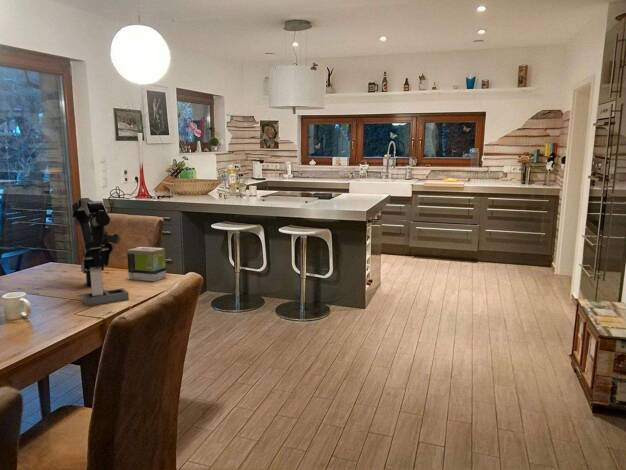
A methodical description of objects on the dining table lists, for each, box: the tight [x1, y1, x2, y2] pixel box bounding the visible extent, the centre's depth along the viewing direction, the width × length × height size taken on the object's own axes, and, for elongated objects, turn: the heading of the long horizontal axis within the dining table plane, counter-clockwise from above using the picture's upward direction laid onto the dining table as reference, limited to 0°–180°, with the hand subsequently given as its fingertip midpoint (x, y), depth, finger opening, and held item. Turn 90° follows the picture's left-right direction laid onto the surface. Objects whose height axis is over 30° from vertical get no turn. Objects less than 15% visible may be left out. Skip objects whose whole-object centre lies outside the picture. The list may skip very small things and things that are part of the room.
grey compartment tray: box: [81, 287, 130, 307], centre depth 198 cm, size 8×16×3 cm, turn 127°
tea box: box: [126, 246, 167, 282], centre depth 234 cm, size 15×10×15 cm
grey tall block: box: [90, 267, 104, 297], centre depth 195 cm, size 4×4×14 cm
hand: (102, 265), depth 207 cm, fingers open, 9 cm apart
